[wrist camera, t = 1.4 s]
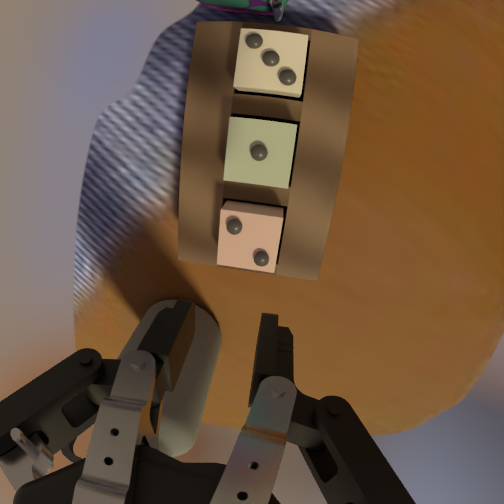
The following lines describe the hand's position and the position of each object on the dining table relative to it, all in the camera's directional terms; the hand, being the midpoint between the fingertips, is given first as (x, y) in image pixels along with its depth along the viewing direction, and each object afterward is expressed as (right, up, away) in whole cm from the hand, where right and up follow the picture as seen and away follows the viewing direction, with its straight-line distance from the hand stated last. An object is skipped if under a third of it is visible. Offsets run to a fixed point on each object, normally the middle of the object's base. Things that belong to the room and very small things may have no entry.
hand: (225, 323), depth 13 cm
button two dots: (+1, +5, +10) cm, 12 cm away
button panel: (+2, +12, +11) cm, 16 cm away
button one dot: (+2, +11, +8) cm, 13 cm away
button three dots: (+3, +17, +5) cm, 17 cm away
